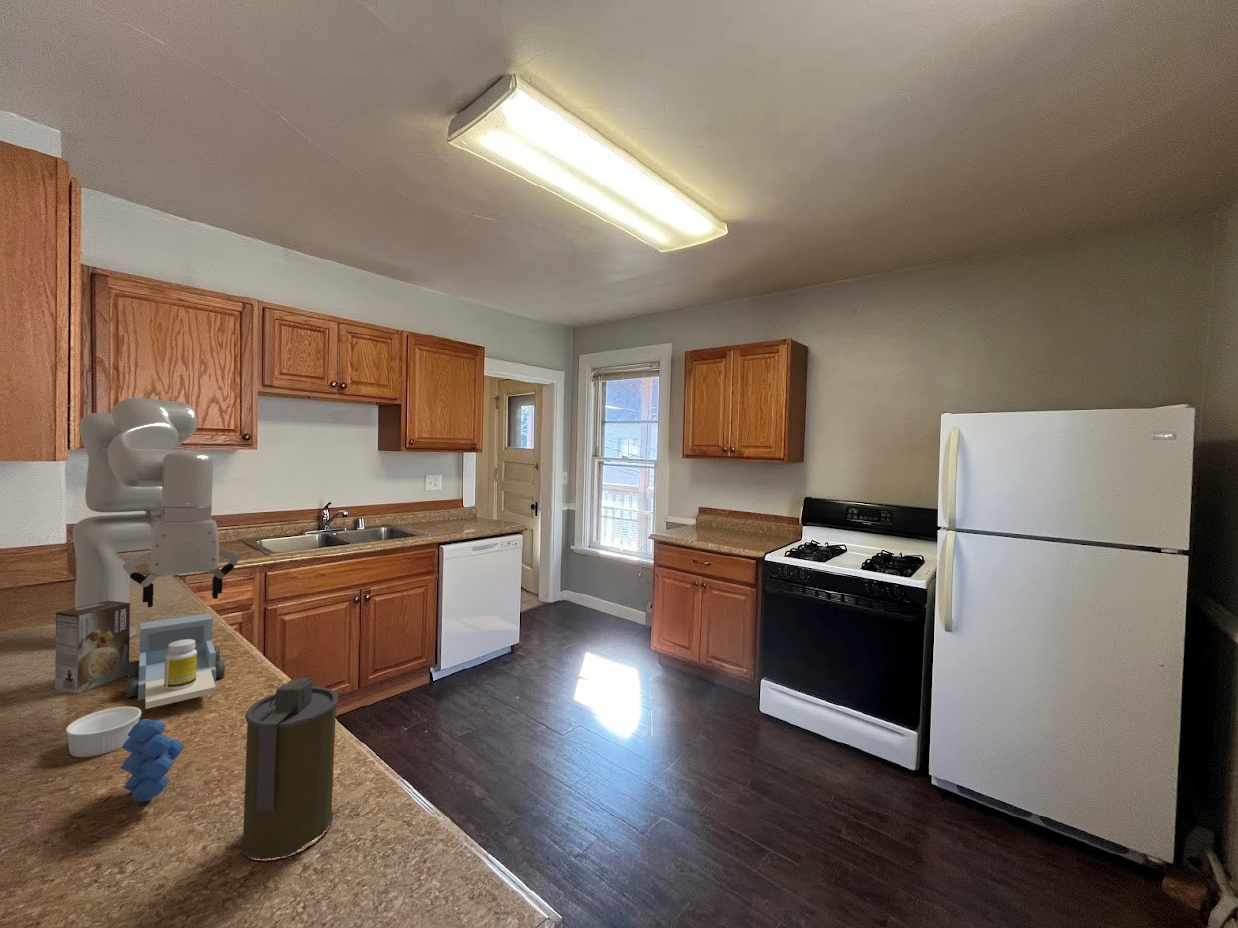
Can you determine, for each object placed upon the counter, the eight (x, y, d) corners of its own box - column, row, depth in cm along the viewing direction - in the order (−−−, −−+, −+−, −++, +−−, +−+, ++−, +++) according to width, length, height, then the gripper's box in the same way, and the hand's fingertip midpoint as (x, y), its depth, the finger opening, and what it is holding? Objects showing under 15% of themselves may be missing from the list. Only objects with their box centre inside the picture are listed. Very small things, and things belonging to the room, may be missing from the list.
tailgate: (144, 681, 99) (144, 702, 91) (211, 668, 106) (216, 686, 98) (144, 688, 99) (143, 710, 91) (211, 674, 106) (216, 693, 98)
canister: (272, 804, 72) (277, 667, 72) (346, 803, 73) (352, 668, 73) (217, 866, 61) (224, 705, 61) (306, 864, 62) (312, 705, 62)
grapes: (199, 799, 72) (202, 717, 72) (137, 827, 66) (140, 739, 66) (168, 770, 78) (171, 694, 78) (108, 794, 72) (111, 712, 72)
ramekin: (150, 738, 86) (151, 714, 86) (79, 766, 78) (80, 739, 78) (125, 725, 90) (126, 701, 90) (54, 750, 82) (55, 724, 82)
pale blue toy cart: (128, 674, 109) (130, 624, 109) (217, 657, 119) (219, 611, 119) (126, 702, 97) (128, 647, 97) (225, 681, 108) (226, 630, 108)
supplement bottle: (201, 682, 99) (203, 640, 99) (173, 692, 95) (175, 648, 95) (186, 678, 101) (187, 636, 101) (158, 687, 96) (160, 644, 96)
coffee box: (107, 671, 110) (109, 599, 110) (129, 675, 108) (132, 602, 108) (52, 690, 101) (55, 611, 101) (76, 694, 99) (79, 615, 99)
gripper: (124, 519, 89) (120, 614, 89) (244, 515, 101) (240, 598, 101) (125, 514, 94) (122, 604, 95) (239, 511, 106) (236, 590, 107)
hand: (183, 601), depth 98 cm, fingers open, 9 cm apart
